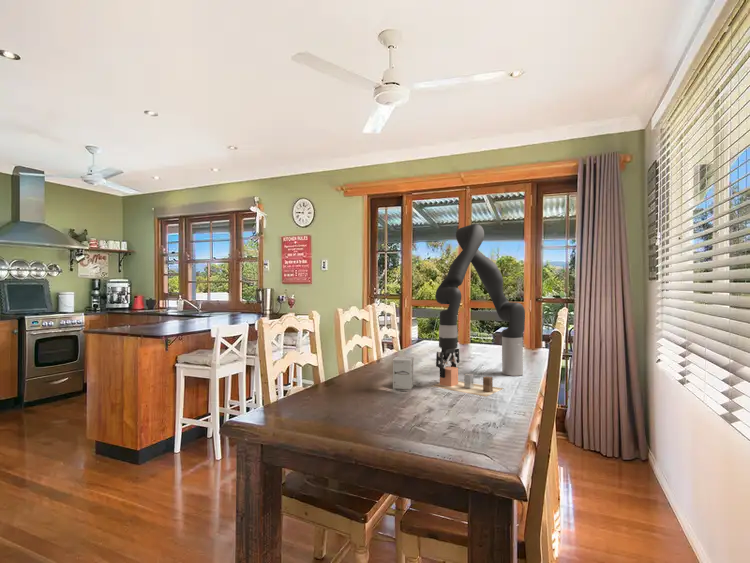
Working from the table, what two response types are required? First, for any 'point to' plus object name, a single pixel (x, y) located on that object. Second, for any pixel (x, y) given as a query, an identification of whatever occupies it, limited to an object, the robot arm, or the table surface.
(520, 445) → the table surface
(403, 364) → the supplement box
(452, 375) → the salmon orange block
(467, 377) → the steel post
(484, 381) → the walnut post
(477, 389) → the board
